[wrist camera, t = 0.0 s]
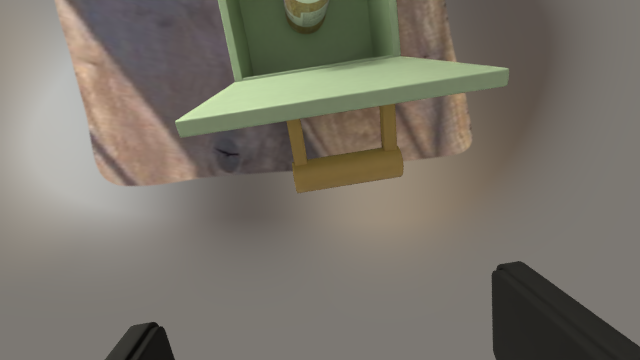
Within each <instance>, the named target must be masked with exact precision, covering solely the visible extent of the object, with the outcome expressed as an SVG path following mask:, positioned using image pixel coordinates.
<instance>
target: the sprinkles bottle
mask: <svg viewBox="0 0 640 360" xmlns="http://www.w3.org/2000/svg"><path fill="white" fill-rule="evenodd" d="M283 1H284V7H285V16H286V19H287V22H288V23H289V25H290V26H291V28H292V29H293V30H295V31H296V32H298V33H301V34H311V33H314V32H316V31H317V30H318V29H319V28H320V27H321V26H322V24H323V22H324V20H325V16H326V11H327V7H328V3H329V0H283Z"/></svg>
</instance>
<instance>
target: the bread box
mask: <svg viewBox="0 0 640 360" xmlns="http://www.w3.org/2000/svg"><path fill="white" fill-rule="evenodd" d="M218 3H219V7H220V12H221V17H222V22H223V26H224V31H225V36H226V40H227V45H228V50H229V55H230V59H231V64H232V69H233V74H234V78H235V82H241V81H247V80H254V79H260V78H267V77H273V76H279V75H286V74H292V73H298V72H305V71H311V70H318V69H324V68H330V67H337V66H343V65H349V64H356V63H362V62H368V61H375V60H381V59H388V58H394V57H400V56H401V51H400V39H399V27H398V15H397V3H396V0H329V3H328V7H327V11H326V16H325V20H324V22H323V24H322V26H321V27H320V28H319V29H318V30H317V31H316V32H314V33H311V34H301V33H298V32H296V31H295V30H293V29H292V28H291V26H290V25H289V23H288V22H287V19H286V16H285V7H284V1H283V0H218Z"/></svg>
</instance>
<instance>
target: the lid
mask: <svg viewBox="0 0 640 360" xmlns="http://www.w3.org/2000/svg"><path fill="white" fill-rule="evenodd" d="M508 77H509V69H508V68H501V67H492V66H484V65H475V64H466V63H458V62H449V61H440V60H431V59H422V58H414V57H405V56H400V57H394V58H388V59H381V60H375V61H368V62H362V63H356V64H349V65H343V66H337V67H330V68H324V69H318V70H311V71H305V72H298V73H292V74H286V75H279V76H273V77H267V78H260V79H254V80H247V81H241V82H235V83H233V84H232V85H230V86H229V87H227V88H226V89H224V90H223V91H221V92H219V93H218V94H216V95H215V96H213V97H212V98H210V99H209V100H207V101H206V102H204V103H203V104H201V105H200V106H198V107H196V108H195V109H193V110H192V111H190V112H189V113H187V114H186V115H184V116H183V117H181V118H180V119H178V120H177V121H175V123H176V126H177V129H178V132H179V135H180V137H188V136H194V135H201V134H207V133H213V132H220V131H226V130H232V129H238V128H245V127H251V126H257V125H264V124H270V123H276V122H282V121H287V126H288V132H289V137H290V142H291V147H292V153H293V158H294V162H292V168H293V176H294V182H295V186H296V191H297V193H302V192H308V191H314V190H321V189H327V188H332V187H339V186H345V185H352V184H358V183H364V182H369V181H376V180H382V179H389V178H394V177H401V176H402V175H403V158H402V154H401V151H400V149H399V147H398V146H397V138H396V114H395V104H396V103H402V102H408V101H415V100H421V99H427V98H433V97H440V96H446V95H452V94H459V93H465V92H471V91H477V90H484V89H490V88H496V87H503V86H507V85H508ZM377 106H379V109H380V125H381V141H382V148H377V149H370V150H364V151H358V152H352V153H346V154H339V155H333V156H327V157H321V158H314V159H308V160H307V156H306V150H305V145H304V139H303V133H302V127H301V121H300V119H301V118H308V117H314V116H320V115H326V114H333V113H339V112H345V111H352V110H358V109H364V108H371V107H377Z"/></svg>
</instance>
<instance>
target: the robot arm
mask: <svg viewBox="0 0 640 360" xmlns="http://www.w3.org/2000/svg"><path fill="white" fill-rule="evenodd" d="M492 316H493V318H492V319H493V351H494V355H495V358H496V360H640V347H639V346H638V345H637V344H635V343H634V342H632V341H631V340H630V339H628V338H627V337H626V336H624V335H623V334H621V333H620V332H618V331H617V330H615V329H614V328H613V327H612V326H610V325H609V324H608V323H606V322H605V321H603V320H602V319H601V318H599V317H598V316H596V315H595V314H594V313H592V312H591V311H590V310H588V309H587V308H585V307H584V306H583V305H581V304H580V303H579V302H577V301H576V300H574V299H573V298H572V297H570V296H569V295H567V294H566V293H564V292H563V291H562V290H561V289H559V288H558V287H556V286H555V285H554V284H552V283H551V282H550V281H548V280H547V279H545V278H544V277H543V276H541V275H540V274H538V273H537V272H536V271H534V270H533V269H531V268H530V267H529V266H527V265H526V264H525V263H523V262H519V261H518V262H512V263H505V264H500V265H498V266H497V270H496V271H493V273H492ZM105 360H175V359H174V356H173V353H172V350H171V347H170V344H169V341H168V338H167V335H166V332H165V329H164V328H163V327H161V326H160V327H159V325H158V324H157V323H155V322H151V323H145V324H139V325H134V326H131V327H130V328H129V329H128V331H127V332H126V333H125V335H124V336H123V337H122V338H121V340H120V341H119V342H118V344H117V345H116V346H115V347H114V349H113V350H112V351H111V353H110V354H109V355H108V356H107V358H106V359H105Z"/></svg>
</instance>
